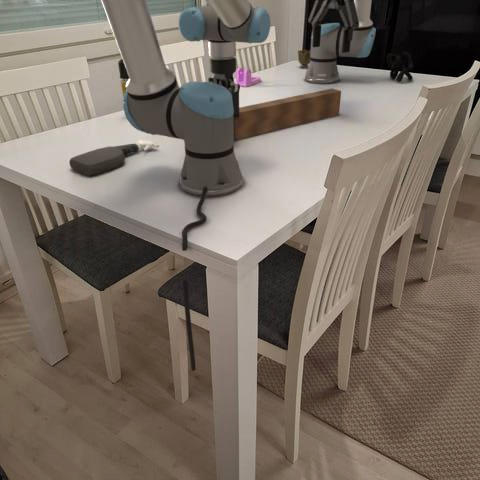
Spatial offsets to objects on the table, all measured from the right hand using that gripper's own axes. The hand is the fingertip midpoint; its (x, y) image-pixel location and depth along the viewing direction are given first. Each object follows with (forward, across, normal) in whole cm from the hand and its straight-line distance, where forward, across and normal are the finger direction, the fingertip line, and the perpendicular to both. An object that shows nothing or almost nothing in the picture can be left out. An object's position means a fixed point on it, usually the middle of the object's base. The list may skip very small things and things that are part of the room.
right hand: (330, 49), depth 145 cm
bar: (+22, 0, +21) cm, 30 cm away
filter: (+22, +39, +55) cm, 71 cm away
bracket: (+22, +57, -8) cm, 61 cm away
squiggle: (+22, +19, -64) cm, 70 cm away
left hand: (+21, 0, +42) cm, 47 cm away
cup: (+22, +67, -50) cm, 86 cm away
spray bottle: (+22, +4, +75) cm, 78 cm away
